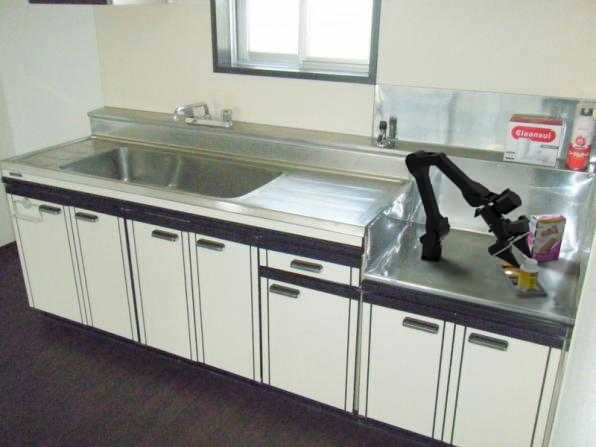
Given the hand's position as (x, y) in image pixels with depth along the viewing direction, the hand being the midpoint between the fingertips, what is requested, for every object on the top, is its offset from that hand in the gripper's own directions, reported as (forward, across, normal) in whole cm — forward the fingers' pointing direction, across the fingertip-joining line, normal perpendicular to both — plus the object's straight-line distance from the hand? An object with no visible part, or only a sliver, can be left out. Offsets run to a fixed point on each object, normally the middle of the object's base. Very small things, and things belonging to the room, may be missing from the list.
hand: (524, 262), depth 184 cm
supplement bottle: (+8, 0, +5) cm, 9 cm away
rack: (+5, +4, +8) cm, 10 cm away
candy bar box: (+4, +25, +9) cm, 27 cm away
